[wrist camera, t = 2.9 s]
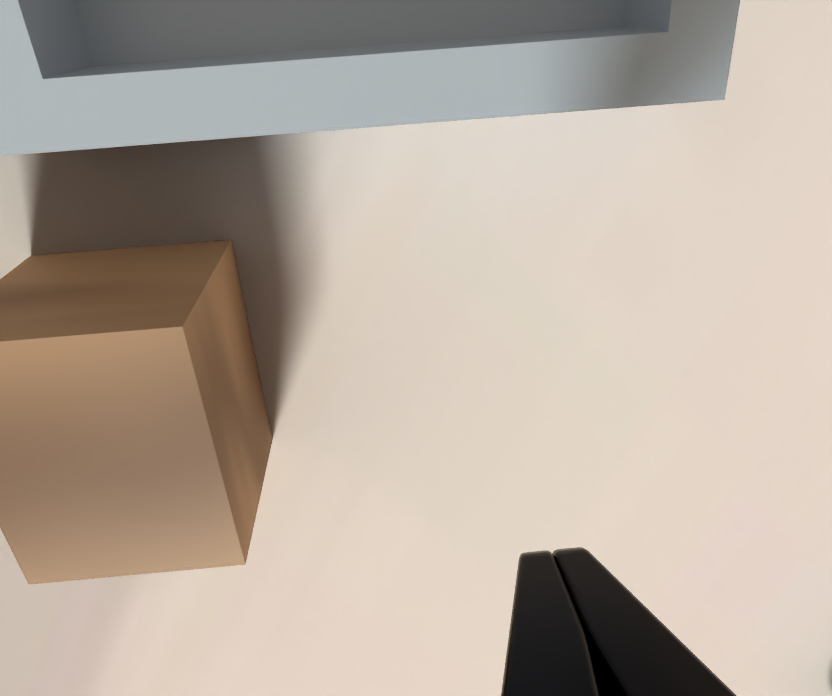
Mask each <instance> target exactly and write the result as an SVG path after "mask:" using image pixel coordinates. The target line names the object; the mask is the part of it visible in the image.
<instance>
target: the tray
mask: <svg viewBox="0 0 832 696" xmlns="http://www.w3.org/2000/svg"><path fill="white" fill-rule="evenodd" d="M739 4H740V0H0V156H8V155H20V154H33V153H46V152H59V151H72V150H85V149H97V148H110V147H123V146H136V145H149V144H161V143H174V142H187V141H200V140H213V139H226V138H238V137H251V136H264V135H277V134H290V133H302V132H315V131H328V130H341V129H354V128H366V127H379V126H392V125H405V124H418V123H431V122H443V121H456V120H469V119H482V118H495V117H507V116H520V115H533V114H546V113H559V112H572V111H584V110H597V109H610V108H623V107H636V106H648V105H661V104H674V103H687V102H700V101H712V100H725V93H726V87H727V80H728V74H729V68H730V61H731V55H732V48H733V42H734V36H735V29H736V23H737V16H738V10H739Z"/></svg>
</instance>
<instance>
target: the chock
mask: <svg viewBox="0 0 832 696" xmlns="http://www.w3.org/2000/svg"><path fill="white" fill-rule="evenodd" d="M271 444H272V434H271V430H270V425H269V420H268V415H267V410H266V406H265V401H264V396H263V391H262V386H261V381H260V377H259V372H258V367H257V362H256V357H255V353H254V348H253V343H252V338H251V333H250V328H249V324H248V319H247V314H246V309H245V304H244V300H243V295H242V290H241V285H240V280H239V276H238V271H237V266H236V261H235V256H234V251H233V247H232V242H231V240H222V241H210V242H197V243H184V244H172V245H159V246H147V247H134V248H121V249H109V250H96V251H83V252H71V253H58V254H45V255H33V256H30V257H29V258H27V259H26V260H25V261H23V262H22V263H21V264H20V265H18V266H17V267H16V268H14V269H13V270H12V271H11V272H9V273H8V274H7V275H5V276H4V277H3V278H2V279H0V528H1V530H2V532H3V534H4V536H5V538H6V540H7V542H8V544H9V546H10V548H11V550H12V552H13V554H14V556H15V558H16V560H17V562H18V564H19V566H20V568H21V570H22V572H23V574H24V576H25V578H26V580H27V582H28V584H38V583H49V582H60V581H71V580H82V579H93V578H103V577H114V576H125V575H136V574H147V573H158V572H169V571H180V570H191V569H201V568H212V567H223V566H234V565H245V563H246V559H247V554H248V550H249V545H250V540H251V536H252V531H253V527H254V522H255V517H256V513H257V508H258V504H259V499H260V494H261V490H262V485H263V481H264V476H265V471H266V467H267V462H268V458H269V453H270V448H271Z"/></svg>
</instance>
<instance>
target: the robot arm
mask: <svg viewBox="0 0 832 696" xmlns="http://www.w3.org/2000/svg"><path fill="white" fill-rule="evenodd" d="M501 696H736V695H735V694H734V693H733V692H732V691H731V690H730V689H729V688H728V687H727V686H726V685H725V684H724V683H723V682H722V681H721V680H720V679H719V678H718V677H717V676H716V675H715V674H714V673H713V672H712V671H711V670H710V669H709V668H708V667H707V666H706V665H705V664H704V663H703V662H701V661H700V660H699V659H698V658H697V657H696V656H695V655H694V654H693V653H692V652H691V651H690V650H689V649H688V648H687V647H686V646H685V645H684V644H683V643H682V642H681V641H680V640H679V639H678V638H677V637H676V636H675V635H674V634H673V633H672V632H671V631H670V630H669V629H668V628H667V627H666V626H665V625H664V624H663V623H661V622H660V621H659V620H658V619H657V618H656V617H655V616H654V615H653V614H652V613H651V612H650V611H649V610H648V609H647V608H646V607H645V606H644V605H643V604H642V603H641V602H640V601H639V600H638V599H637V598H636V597H635V596H634V595H633V594H632V593H631V592H630V591H629V590H628V589H627V588H626V587H625V586H624V585H623V584H622V583H620V582H619V581H618V580H617V579H616V578H615V577H614V576H613V575H612V574H611V573H610V572H609V571H608V570H607V569H606V568H605V567H604V566H603V565H602V564H601V563H600V562H599V561H598V560H597V559H596V558H595V557H594V556H593V555H592V554H591V553H590V552H589V551H587V550H586V549H584V548H580V547H578V548H567V549H557V550H555V551H554V552H553V553H551V552H549V551H536V552H526V553H522V554H521V555H520V558H519V563H518V571H517V579H516V586H515V594H514V602H513V609H512V617H511V624H510V632H509V640H508V647H507V655H506V663H505V670H504V678H503V686H502V693H501Z"/></svg>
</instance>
